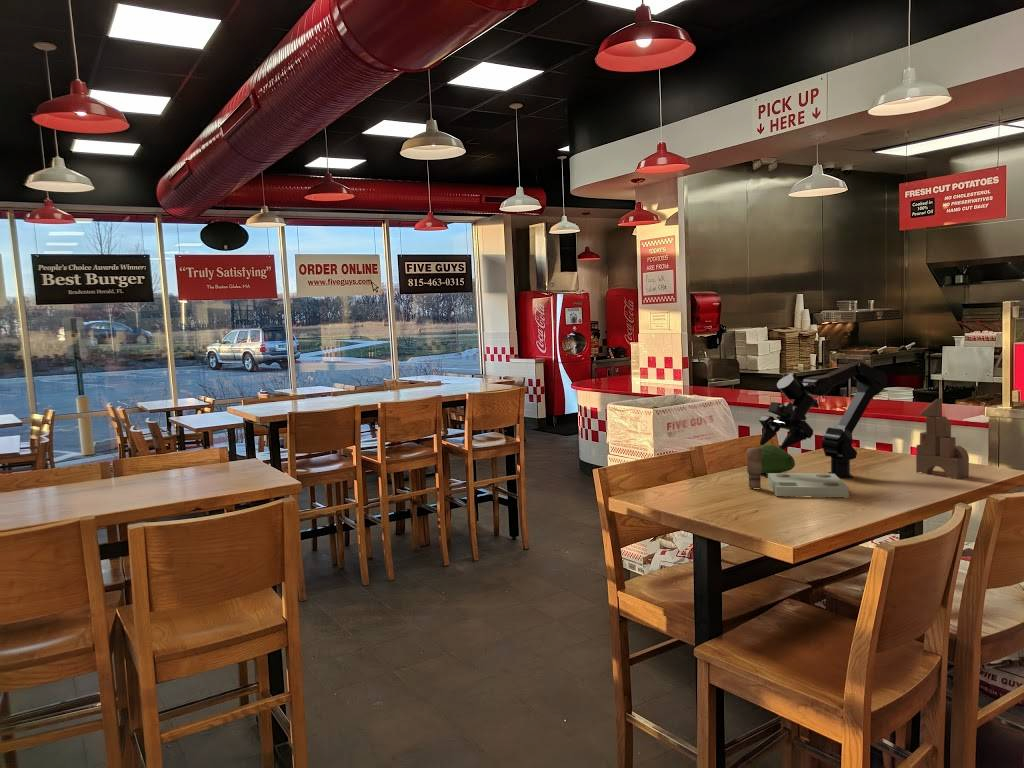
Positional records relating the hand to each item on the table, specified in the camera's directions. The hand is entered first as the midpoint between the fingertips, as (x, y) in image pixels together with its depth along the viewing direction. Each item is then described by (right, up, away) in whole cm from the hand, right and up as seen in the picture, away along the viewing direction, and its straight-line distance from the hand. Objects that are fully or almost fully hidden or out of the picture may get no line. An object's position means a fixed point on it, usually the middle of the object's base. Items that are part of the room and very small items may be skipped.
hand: (770, 446), depth 228 cm
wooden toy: (+58, -10, +8) cm, 60 cm away
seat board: (+9, -13, -6) cm, 17 cm away
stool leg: (-6, -13, -1) cm, 14 cm away
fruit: (+7, -11, +18) cm, 23 cm away
